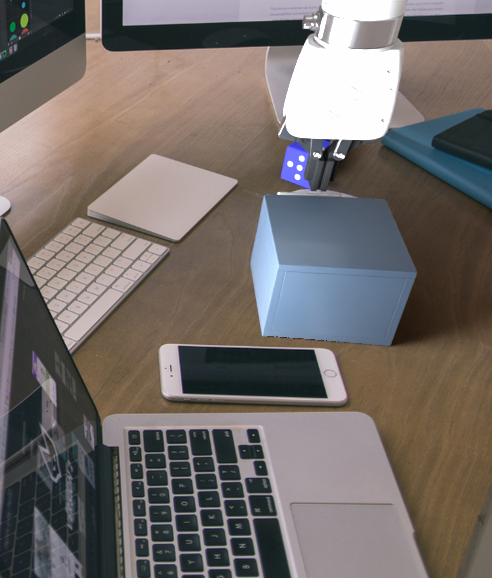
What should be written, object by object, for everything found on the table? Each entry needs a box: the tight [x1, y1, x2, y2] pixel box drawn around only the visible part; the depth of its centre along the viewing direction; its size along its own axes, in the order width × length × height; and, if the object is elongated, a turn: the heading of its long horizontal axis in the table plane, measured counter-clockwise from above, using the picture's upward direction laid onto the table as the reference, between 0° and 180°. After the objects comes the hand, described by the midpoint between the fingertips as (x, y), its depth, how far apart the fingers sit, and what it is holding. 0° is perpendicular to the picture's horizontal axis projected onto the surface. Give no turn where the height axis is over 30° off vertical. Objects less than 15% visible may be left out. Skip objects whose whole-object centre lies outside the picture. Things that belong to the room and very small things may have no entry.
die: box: [280, 140, 330, 190], centre depth 106 cm, size 5×5×5 cm
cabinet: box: [249, 194, 418, 347], centre depth 84 cm, size 14×13×10 cm
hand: (316, 185), depth 89 cm, fingers closed
